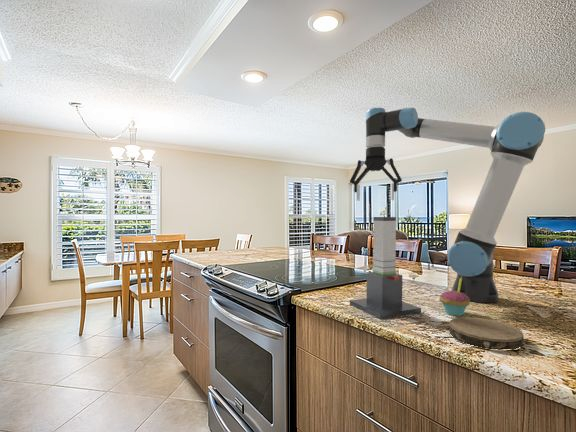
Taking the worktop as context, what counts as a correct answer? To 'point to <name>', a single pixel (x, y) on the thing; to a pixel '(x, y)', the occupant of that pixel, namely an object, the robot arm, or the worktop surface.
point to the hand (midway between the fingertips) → (375, 200)
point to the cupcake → (455, 301)
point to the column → (384, 246)
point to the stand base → (384, 297)
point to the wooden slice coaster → (486, 333)
